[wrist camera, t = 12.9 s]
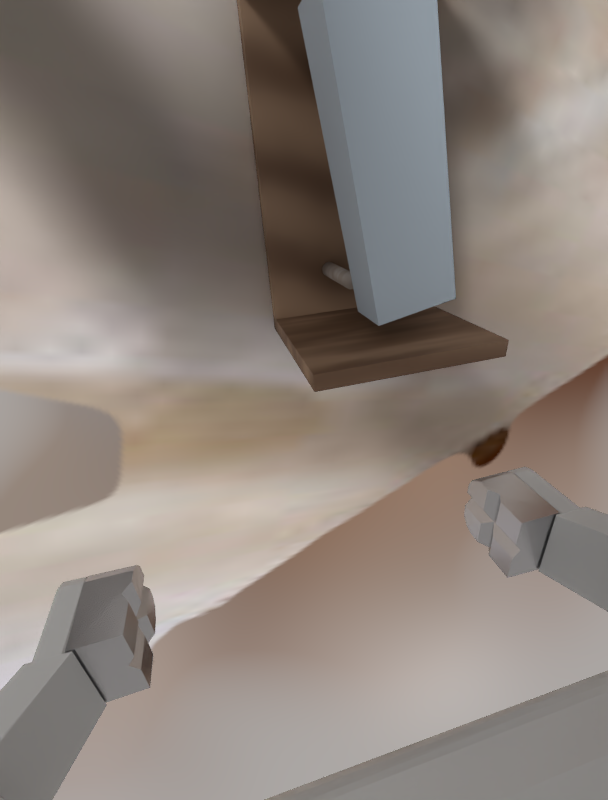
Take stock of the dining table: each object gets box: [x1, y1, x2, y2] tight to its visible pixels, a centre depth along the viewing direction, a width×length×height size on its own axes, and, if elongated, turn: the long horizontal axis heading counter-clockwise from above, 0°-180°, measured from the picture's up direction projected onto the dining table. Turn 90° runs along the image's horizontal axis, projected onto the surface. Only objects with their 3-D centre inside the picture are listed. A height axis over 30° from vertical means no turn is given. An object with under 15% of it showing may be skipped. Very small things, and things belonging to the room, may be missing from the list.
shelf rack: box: [237, 0, 508, 392], centre depth 27 cm, size 24×14×14 cm, turn 4°
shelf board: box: [298, 0, 456, 326], centre depth 25 cm, size 18×6×4 cm, turn 15°
